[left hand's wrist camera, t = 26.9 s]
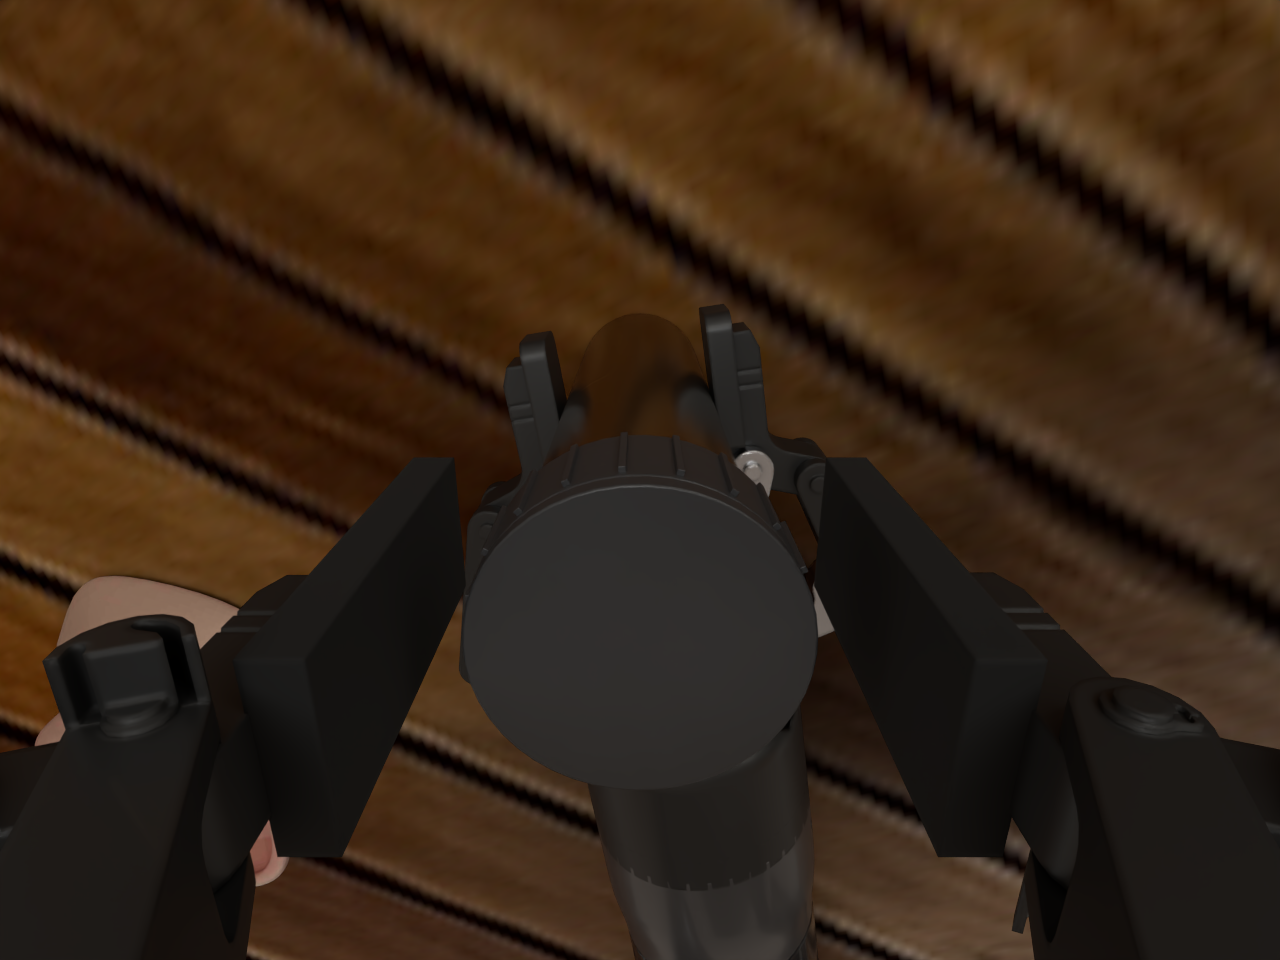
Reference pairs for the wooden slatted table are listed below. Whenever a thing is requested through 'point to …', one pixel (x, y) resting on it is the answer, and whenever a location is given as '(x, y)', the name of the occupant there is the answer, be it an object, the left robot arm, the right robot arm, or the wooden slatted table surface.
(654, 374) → the dark brown cylindrical piece
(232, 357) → the wooden slatted table surface
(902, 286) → the wooden slatted table surface
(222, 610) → the anatomical model
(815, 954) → the right robot arm
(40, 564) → the wooden slatted table surface
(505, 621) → the lid
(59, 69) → the wooden slatted table surface
